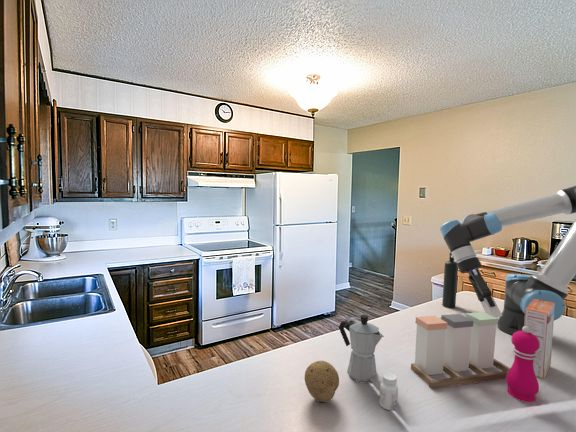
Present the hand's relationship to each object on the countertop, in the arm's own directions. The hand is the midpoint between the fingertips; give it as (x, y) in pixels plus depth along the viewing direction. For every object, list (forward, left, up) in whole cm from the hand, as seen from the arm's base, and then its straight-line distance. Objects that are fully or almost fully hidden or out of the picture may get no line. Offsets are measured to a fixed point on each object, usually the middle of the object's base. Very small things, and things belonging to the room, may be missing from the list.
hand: (495, 318), depth 112 cm
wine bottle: (-3, -48, -13) cm, 50 cm away
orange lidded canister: (+27, +17, -11) cm, 33 cm away
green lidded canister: (+10, +11, -11) cm, 18 cm away
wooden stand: (+17, +16, -12) cm, 27 cm away
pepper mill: (+5, +26, -13) cm, 29 cm away
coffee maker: (+47, +20, -13) cm, 53 cm away
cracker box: (-8, +9, -13) cm, 18 cm away
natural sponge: (+58, +34, -13) cm, 69 cm away
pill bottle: (+41, +34, -13) cm, 55 cm away
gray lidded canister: (+18, +14, -11) cm, 25 cm away
